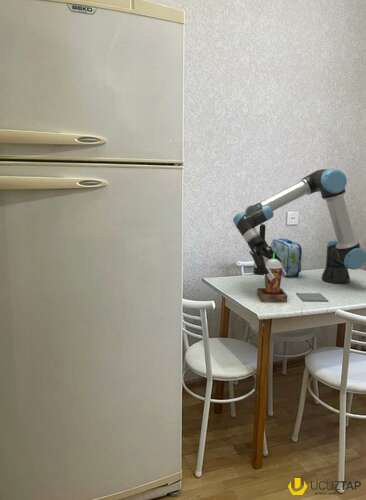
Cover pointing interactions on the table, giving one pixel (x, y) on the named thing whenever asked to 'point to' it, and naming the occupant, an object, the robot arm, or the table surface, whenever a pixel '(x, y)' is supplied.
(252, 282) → the table surface
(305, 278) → the table surface
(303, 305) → the table surface
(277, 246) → the lunch box
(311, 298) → the coaster
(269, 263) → the smoothie
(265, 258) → the wine bottle
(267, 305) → the table surface
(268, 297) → the tray
